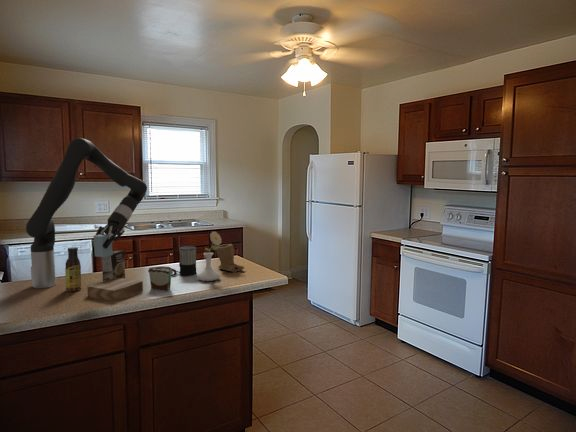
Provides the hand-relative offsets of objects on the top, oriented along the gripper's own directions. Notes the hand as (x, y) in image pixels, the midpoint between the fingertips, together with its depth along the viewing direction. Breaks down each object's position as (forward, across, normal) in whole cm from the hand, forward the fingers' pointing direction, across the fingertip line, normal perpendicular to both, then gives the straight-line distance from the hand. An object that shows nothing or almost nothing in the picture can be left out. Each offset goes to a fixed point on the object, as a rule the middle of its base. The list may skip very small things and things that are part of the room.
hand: (99, 246), depth 163 cm
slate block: (+2, 0, +4) cm, 5 cm away
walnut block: (+12, +1, +20) cm, 23 cm away
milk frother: (-15, +6, +48) cm, 50 cm away
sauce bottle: (+15, -21, +17) cm, 30 cm away
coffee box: (+4, -12, +28) cm, 30 cm away
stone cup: (-29, +24, +62) cm, 72 cm away
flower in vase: (-14, +26, +47) cm, 55 cm away
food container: (+1, +15, +31) cm, 34 cm away
